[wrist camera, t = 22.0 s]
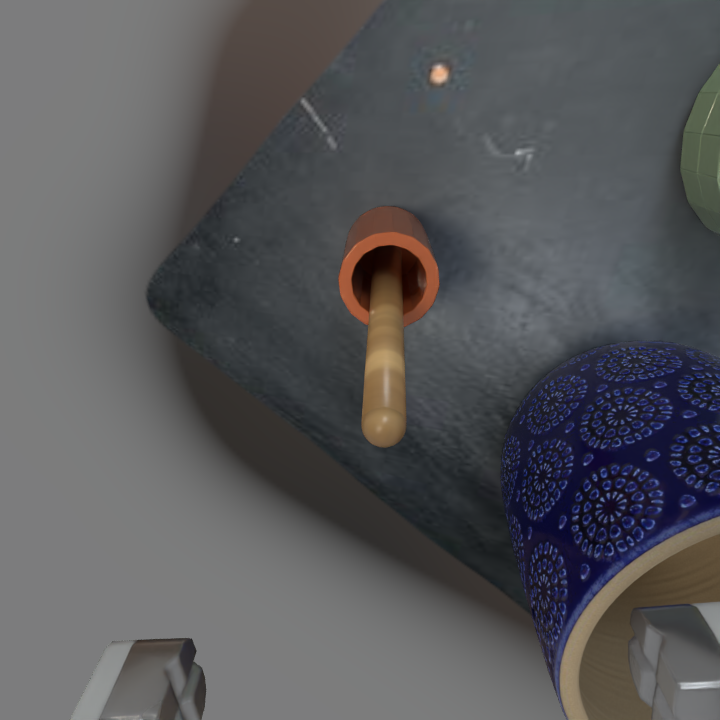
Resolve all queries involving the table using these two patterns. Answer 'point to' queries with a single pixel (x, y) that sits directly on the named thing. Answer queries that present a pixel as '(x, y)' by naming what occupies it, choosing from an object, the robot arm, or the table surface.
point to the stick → (385, 352)
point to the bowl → (704, 154)
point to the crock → (416, 262)
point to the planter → (613, 508)
